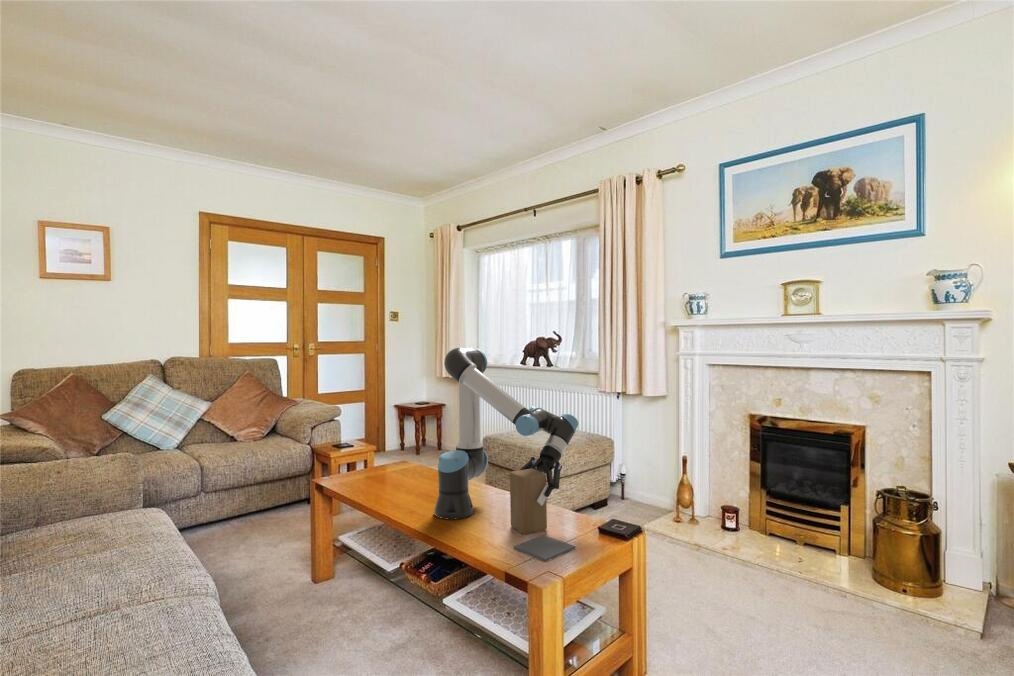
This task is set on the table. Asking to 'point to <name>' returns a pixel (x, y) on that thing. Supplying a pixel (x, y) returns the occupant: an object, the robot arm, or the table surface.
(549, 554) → the mat
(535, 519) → the wooden block
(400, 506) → the table surface
